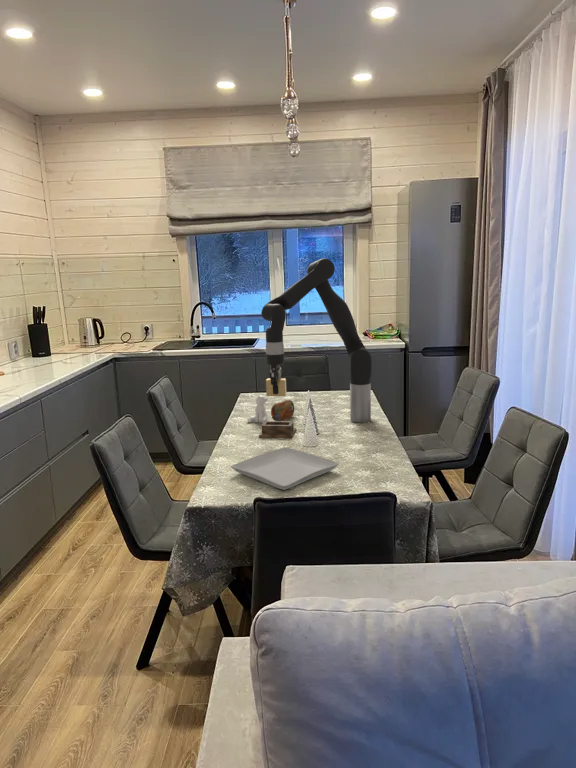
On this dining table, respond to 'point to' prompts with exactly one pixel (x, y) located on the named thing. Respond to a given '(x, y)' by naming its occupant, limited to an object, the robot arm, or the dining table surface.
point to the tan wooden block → (280, 388)
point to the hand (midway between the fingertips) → (276, 392)
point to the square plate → (285, 467)
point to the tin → (282, 410)
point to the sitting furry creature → (259, 411)
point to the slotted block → (277, 429)
